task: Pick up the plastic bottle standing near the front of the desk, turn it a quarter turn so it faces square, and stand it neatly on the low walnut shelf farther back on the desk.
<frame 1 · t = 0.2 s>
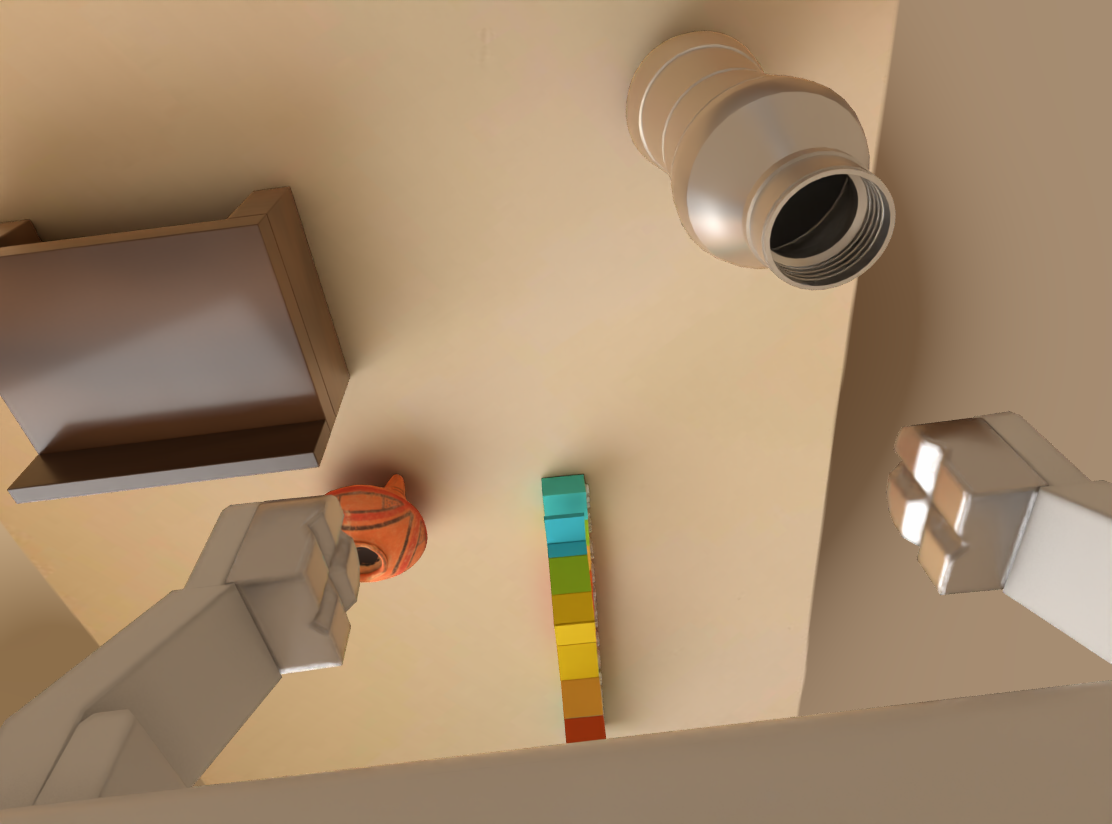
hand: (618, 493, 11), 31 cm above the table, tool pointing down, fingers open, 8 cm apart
chart: (577, 618, 59), on the table
shelf: (185, 306, 41), on the table
pot: (374, 498, 50), on the table
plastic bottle: (682, 95, 37), on the table
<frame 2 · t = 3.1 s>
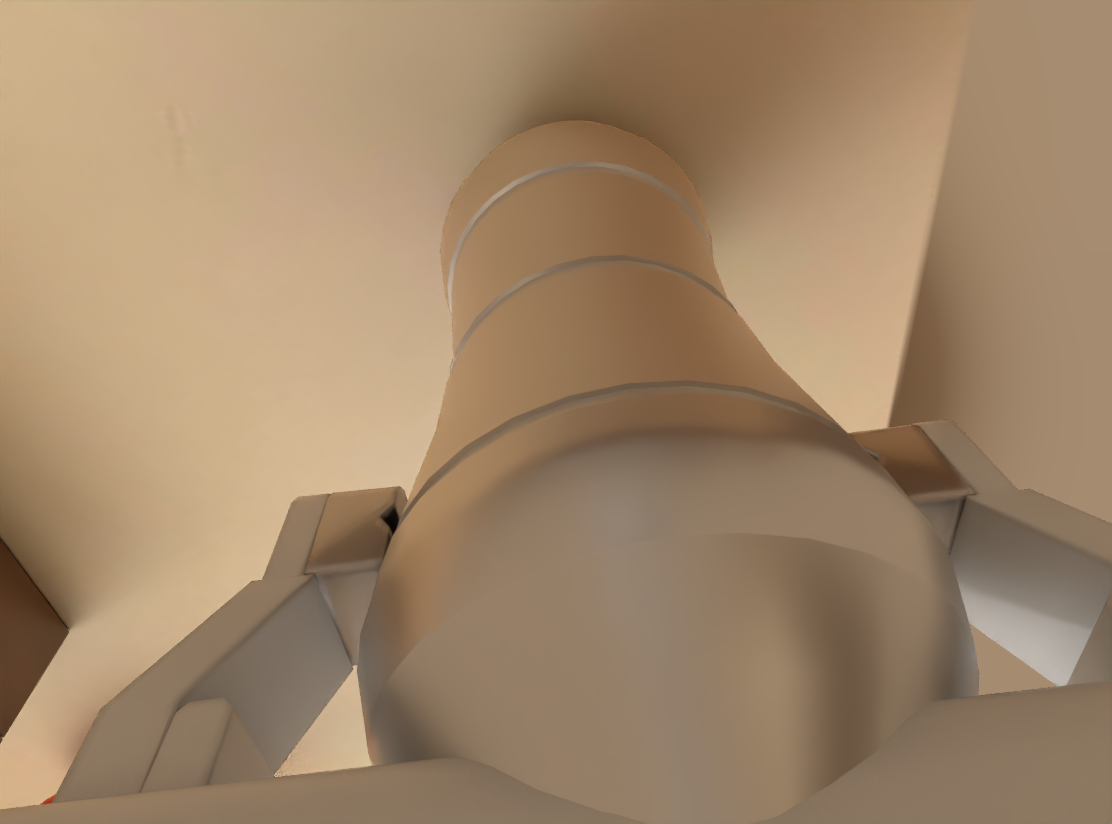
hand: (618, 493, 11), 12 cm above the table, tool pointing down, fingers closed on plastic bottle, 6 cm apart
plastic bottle: (565, 221, 20), on the table, touching gripper
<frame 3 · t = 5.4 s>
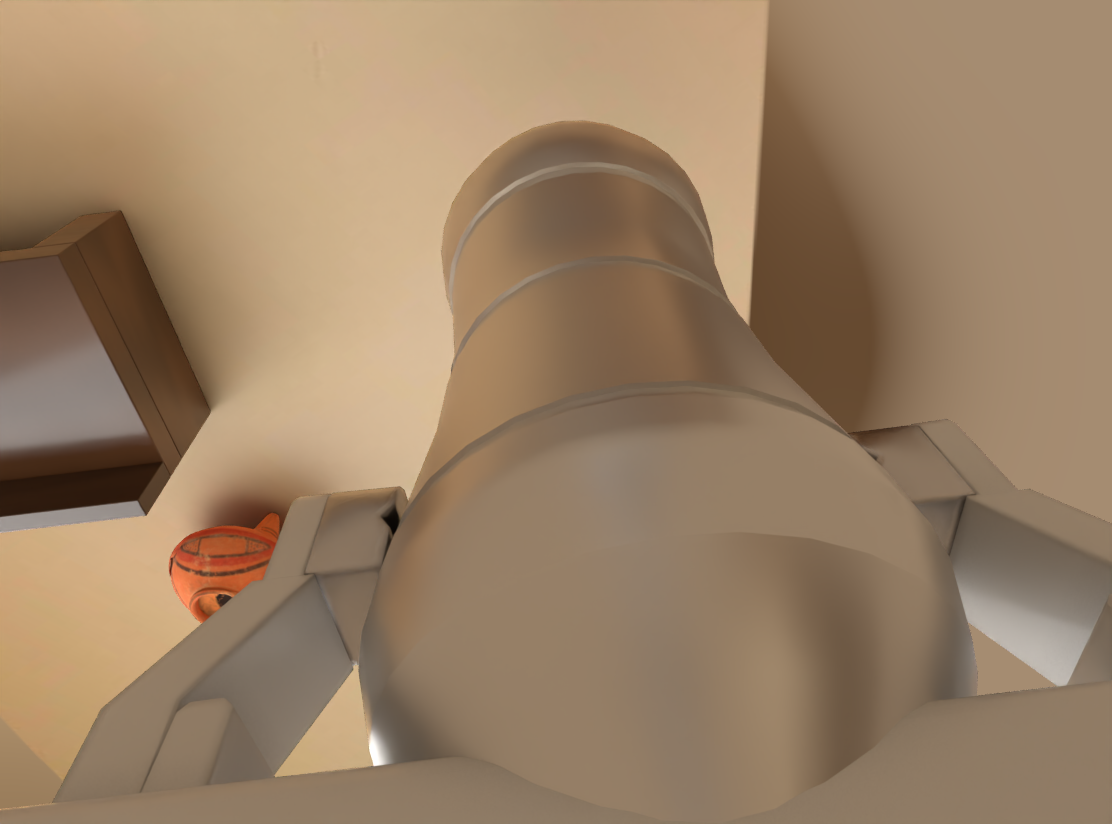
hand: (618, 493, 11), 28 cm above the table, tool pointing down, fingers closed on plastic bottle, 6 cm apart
shelf: (23, 337, 39), on the table
pot: (253, 537, 47), on the table
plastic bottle: (566, 221, 20), point 16 cm above the table, touching gripper
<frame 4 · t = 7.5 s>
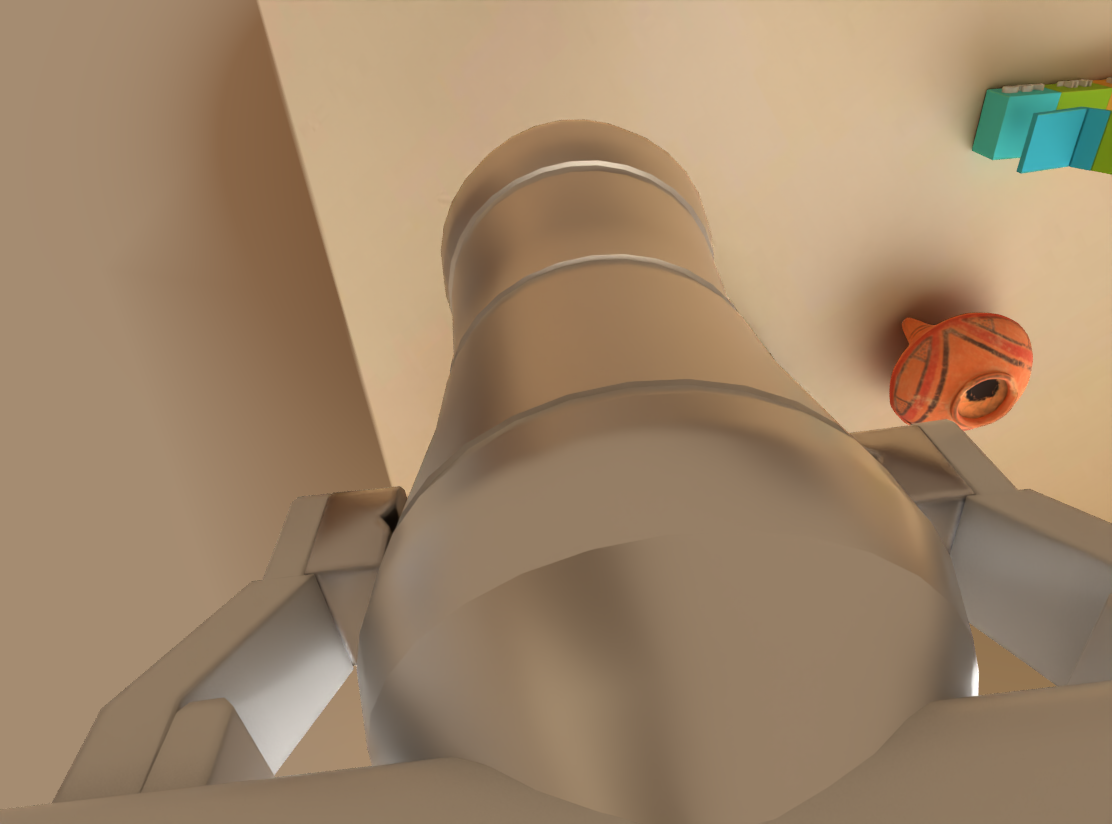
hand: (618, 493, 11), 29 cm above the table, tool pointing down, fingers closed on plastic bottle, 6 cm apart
pot: (929, 346, 44), on the table
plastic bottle: (566, 220, 20), point 17 cm above the table, touching gripper
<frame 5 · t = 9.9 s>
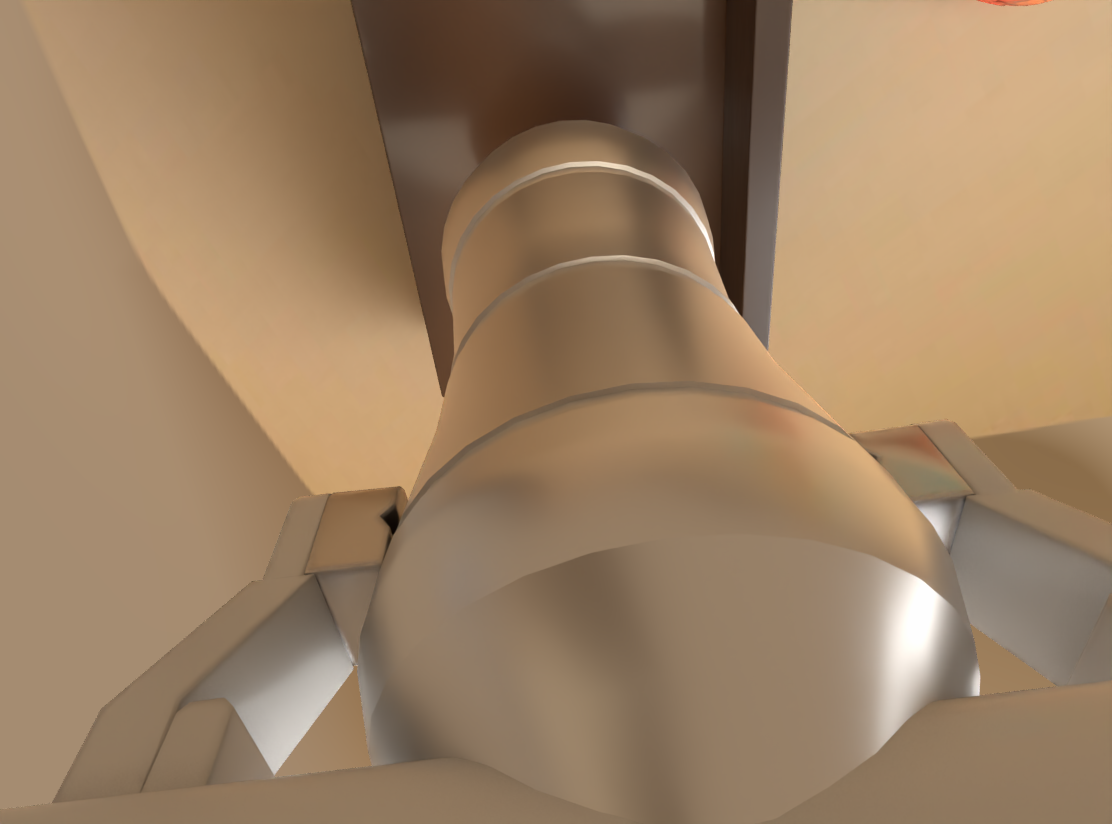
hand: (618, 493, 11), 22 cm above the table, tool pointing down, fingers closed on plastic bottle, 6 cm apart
shelf: (562, 135, 29), on the table
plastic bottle: (567, 220, 20), point 10 cm above the table, touching gripper
when the fingers open (18 cm above the table, at t = 11.8 s): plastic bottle stays where it is, resting on shelf.
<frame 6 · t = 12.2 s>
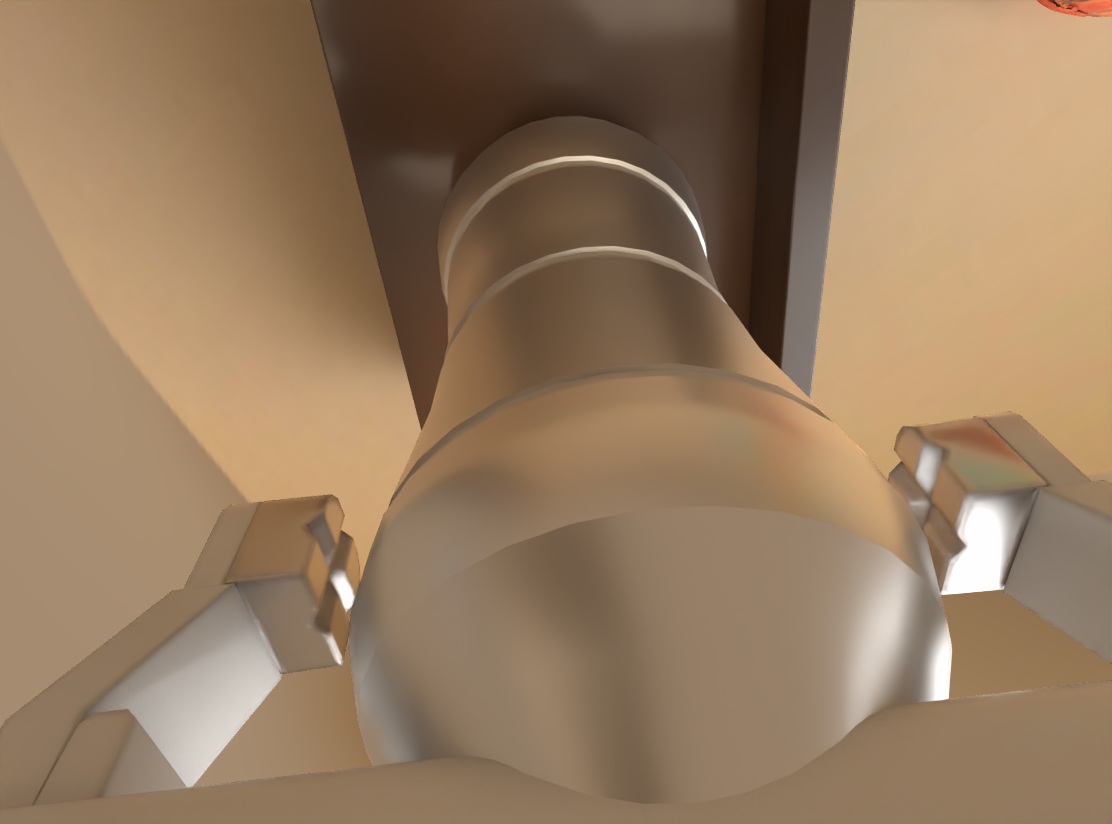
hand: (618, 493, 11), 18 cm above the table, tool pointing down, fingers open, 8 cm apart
shelf: (566, 162, 25), on the table
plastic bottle: (562, 216, 21), point 6 cm above the table, touching shelf
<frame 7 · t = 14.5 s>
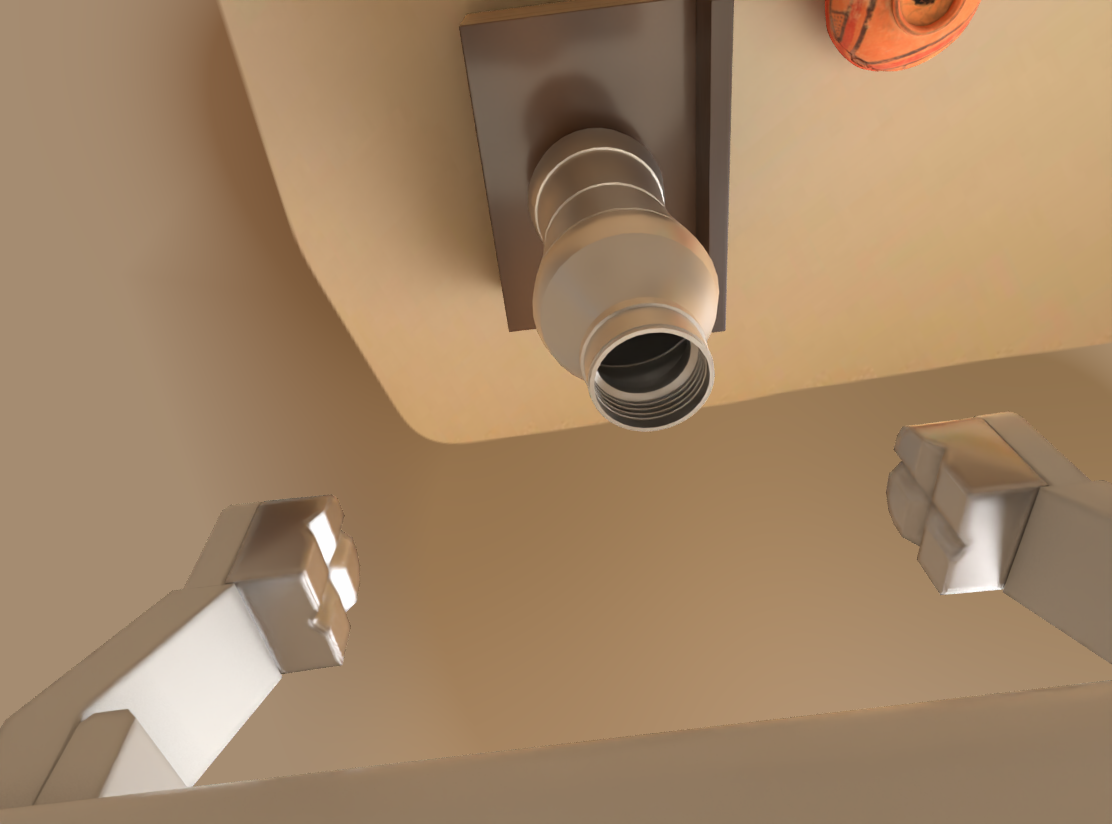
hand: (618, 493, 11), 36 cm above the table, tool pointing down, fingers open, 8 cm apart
shelf: (590, 153, 42), on the table
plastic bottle: (590, 181, 38), point 6 cm above the table, touching shelf
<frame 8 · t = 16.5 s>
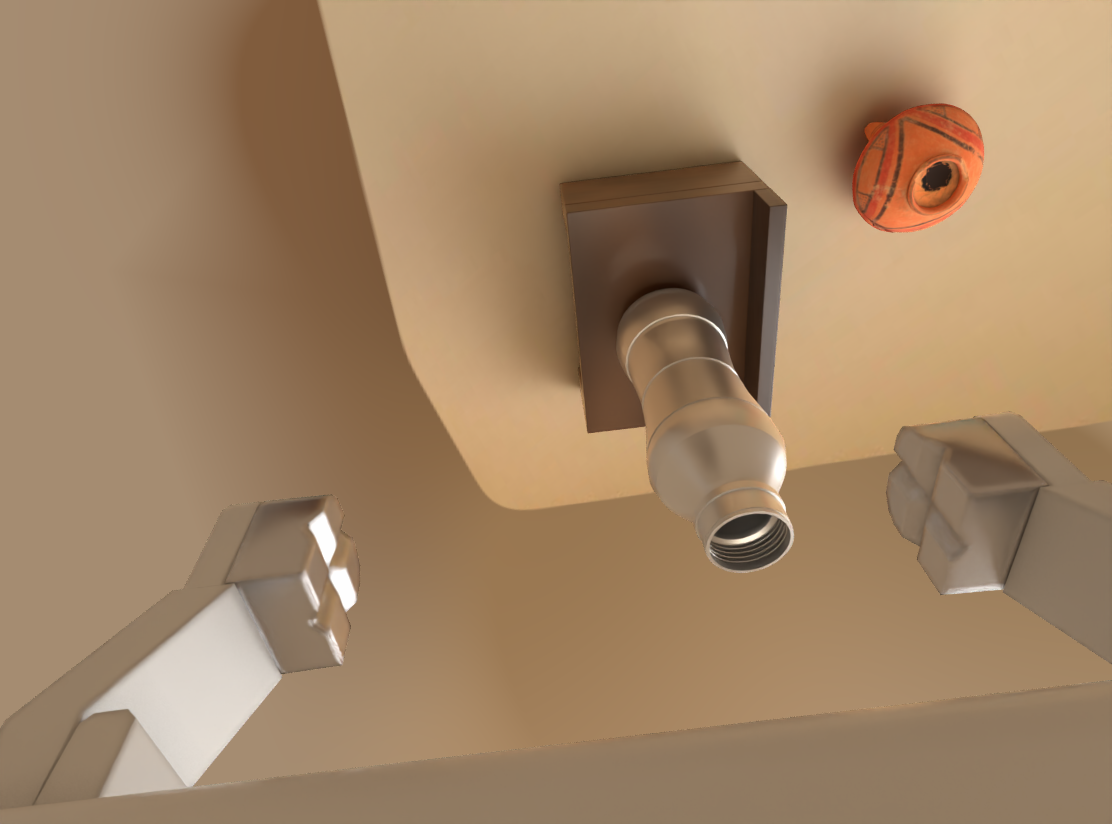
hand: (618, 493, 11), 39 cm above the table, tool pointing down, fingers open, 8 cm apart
shelf: (654, 284, 51), on the table
pot: (891, 156, 47), on the table
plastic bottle: (661, 321, 46), point 6 cm above the table, touching shelf
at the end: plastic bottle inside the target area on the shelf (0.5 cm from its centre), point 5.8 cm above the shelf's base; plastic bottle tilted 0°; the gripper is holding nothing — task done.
